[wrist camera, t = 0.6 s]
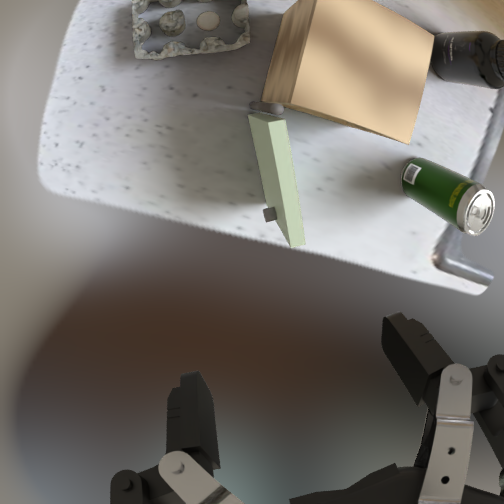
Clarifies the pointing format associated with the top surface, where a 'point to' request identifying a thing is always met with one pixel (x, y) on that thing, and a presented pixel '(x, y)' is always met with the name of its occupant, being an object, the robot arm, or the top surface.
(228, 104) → the top surface
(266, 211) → the door
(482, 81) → the supplement bottle
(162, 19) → the egg carton
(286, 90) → the cupboard
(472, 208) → the beer can
